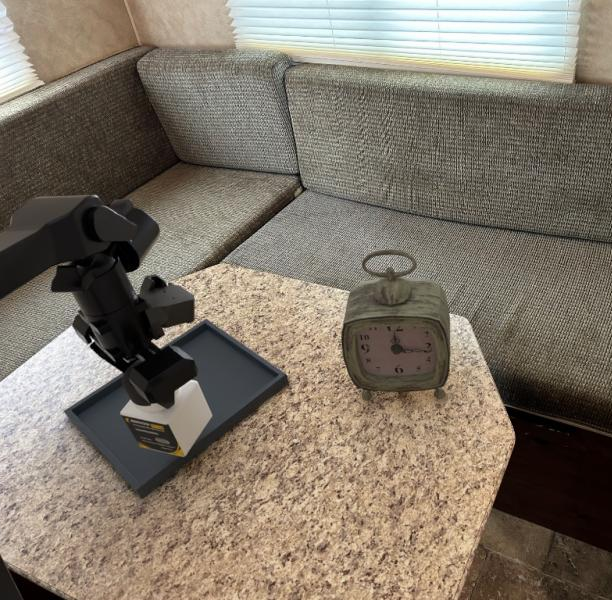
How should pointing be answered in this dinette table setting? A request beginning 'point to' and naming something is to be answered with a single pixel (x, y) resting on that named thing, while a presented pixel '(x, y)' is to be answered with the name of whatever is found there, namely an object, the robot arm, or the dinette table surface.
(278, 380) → the tray
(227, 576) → the dinette table surface
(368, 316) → the tabletop clock
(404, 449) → the dinette table surface
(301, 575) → the dinette table surface
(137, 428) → the medicine bottle
